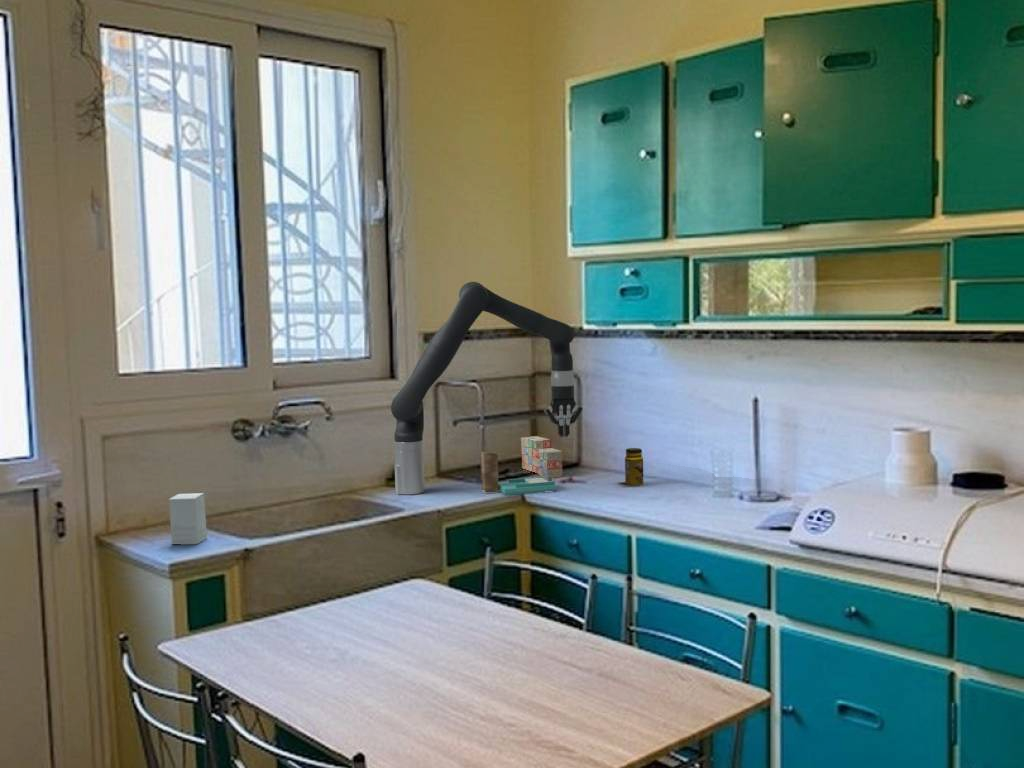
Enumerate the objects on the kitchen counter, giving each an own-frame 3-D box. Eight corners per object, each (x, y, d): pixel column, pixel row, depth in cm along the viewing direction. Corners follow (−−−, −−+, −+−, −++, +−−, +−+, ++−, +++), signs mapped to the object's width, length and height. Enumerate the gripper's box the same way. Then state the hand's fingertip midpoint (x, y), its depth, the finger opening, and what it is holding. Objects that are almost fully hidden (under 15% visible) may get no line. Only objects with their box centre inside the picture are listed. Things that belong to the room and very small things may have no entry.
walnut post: (485, 493, 328) (483, 453, 327) (482, 490, 332) (480, 451, 331) (498, 492, 329) (497, 452, 328) (495, 489, 333) (494, 451, 332)
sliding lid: (531, 485, 328) (530, 478, 327) (524, 481, 335) (524, 474, 335) (553, 483, 329) (552, 476, 329) (546, 479, 337) (546, 472, 337)
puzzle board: (505, 495, 324) (504, 486, 323) (496, 488, 335) (496, 479, 335) (555, 491, 328) (555, 482, 328) (545, 485, 339) (545, 476, 339)
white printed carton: (563, 477, 354) (562, 442, 353) (547, 478, 352) (546, 443, 351) (537, 468, 374) (536, 435, 373) (521, 469, 371) (520, 436, 370)
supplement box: (207, 538, 276) (205, 492, 275) (197, 544, 269) (195, 498, 268) (181, 538, 277) (178, 493, 276) (170, 545, 269) (167, 498, 268)
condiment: (647, 486, 333) (646, 450, 332) (622, 487, 332) (621, 451, 331) (641, 482, 340) (640, 446, 339) (616, 483, 339) (616, 448, 338)
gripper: (546, 386, 327) (547, 439, 328) (585, 384, 330) (586, 436, 331) (539, 384, 334) (541, 436, 335) (578, 382, 337) (579, 433, 339)
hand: (563, 436), depth 333 cm, fingers closed
